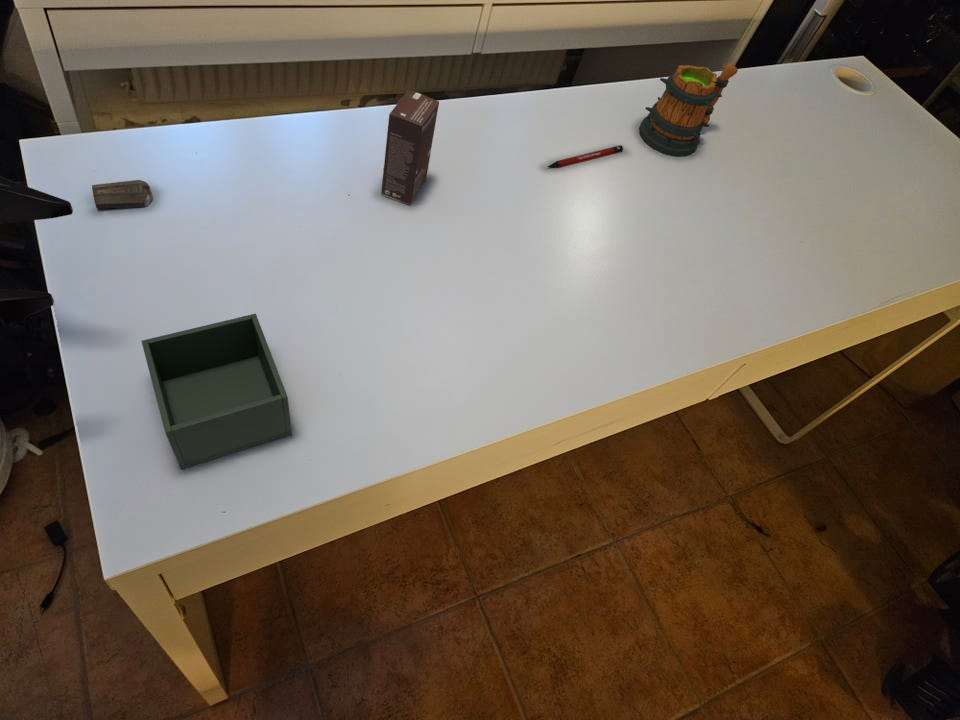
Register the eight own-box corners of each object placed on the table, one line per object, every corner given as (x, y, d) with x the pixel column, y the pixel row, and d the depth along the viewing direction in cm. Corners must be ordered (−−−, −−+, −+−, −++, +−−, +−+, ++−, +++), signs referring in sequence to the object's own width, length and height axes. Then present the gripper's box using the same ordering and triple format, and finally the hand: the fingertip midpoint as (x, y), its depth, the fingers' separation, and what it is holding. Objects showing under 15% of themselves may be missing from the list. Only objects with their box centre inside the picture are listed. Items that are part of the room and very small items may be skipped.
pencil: (544, 168, 94) (546, 162, 93) (618, 149, 100) (620, 144, 99) (547, 171, 94) (549, 165, 93) (621, 153, 100) (623, 147, 99)
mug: (662, 162, 99) (695, 93, 90) (624, 122, 104) (652, 53, 95) (724, 148, 105) (761, 82, 96) (685, 111, 109) (717, 44, 100)
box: (412, 207, 84) (422, 125, 75) (380, 195, 85) (385, 112, 75) (429, 180, 88) (440, 99, 78) (398, 169, 88) (405, 87, 79)
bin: (180, 469, 59) (165, 432, 54) (157, 382, 63) (141, 340, 58) (292, 434, 63) (287, 396, 57) (262, 354, 67) (255, 313, 62)
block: (93, 193, 76) (89, 181, 75) (149, 186, 79) (146, 173, 77) (98, 214, 75) (93, 202, 73) (155, 205, 77) (151, 193, 75)
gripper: (-354, 269, 34) (0, 277, 39) (-217, 55, 44) (53, 81, 48) (-221, 382, 43) (53, 377, 48) (-132, 183, 53) (89, 195, 57)
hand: (62, 251), depth 50 cm, fingers open, 9 cm apart
